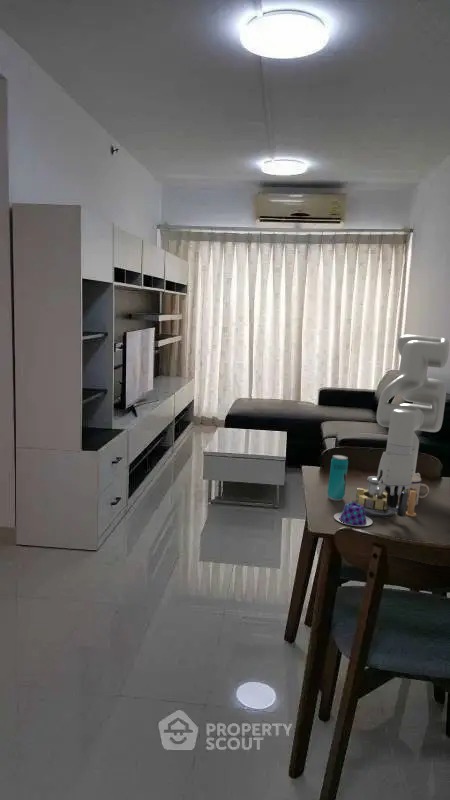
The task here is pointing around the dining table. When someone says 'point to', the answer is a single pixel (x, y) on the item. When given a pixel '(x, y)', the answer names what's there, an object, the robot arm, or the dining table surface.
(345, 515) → the pudding
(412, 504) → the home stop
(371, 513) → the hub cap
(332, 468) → the beverage can
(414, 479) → the teacup with lid
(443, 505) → the dining table surface
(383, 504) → the segmented ring with handle
